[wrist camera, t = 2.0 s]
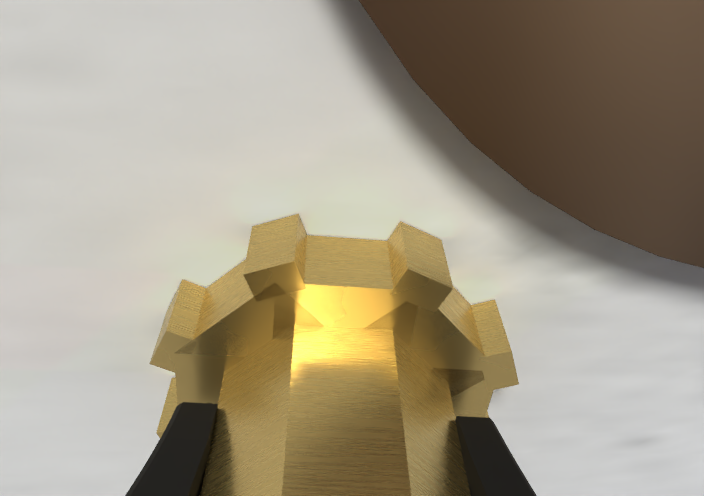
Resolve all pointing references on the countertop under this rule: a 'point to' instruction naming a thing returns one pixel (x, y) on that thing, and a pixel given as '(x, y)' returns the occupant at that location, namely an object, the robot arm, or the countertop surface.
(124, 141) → the countertop surface
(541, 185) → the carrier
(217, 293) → the brass gear
